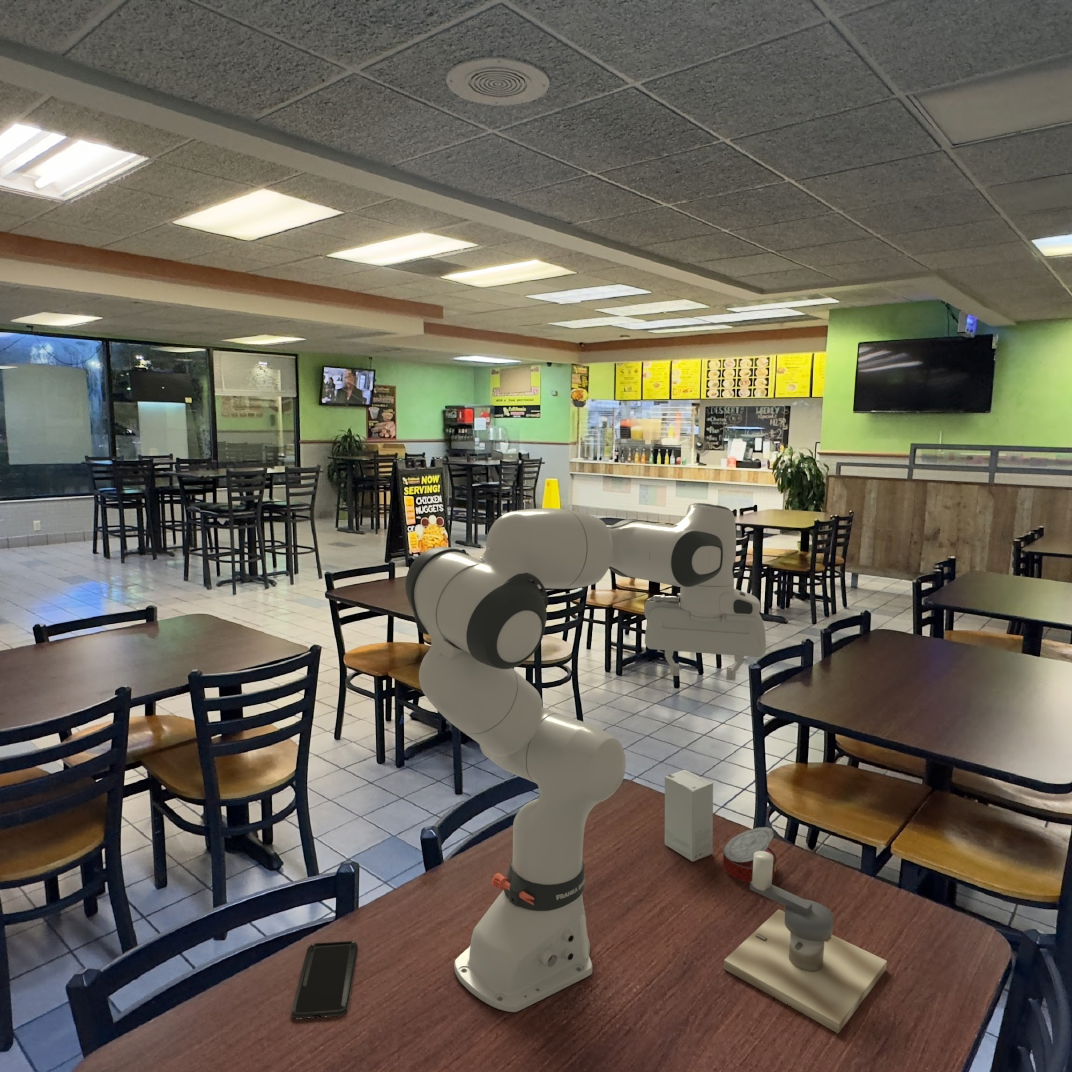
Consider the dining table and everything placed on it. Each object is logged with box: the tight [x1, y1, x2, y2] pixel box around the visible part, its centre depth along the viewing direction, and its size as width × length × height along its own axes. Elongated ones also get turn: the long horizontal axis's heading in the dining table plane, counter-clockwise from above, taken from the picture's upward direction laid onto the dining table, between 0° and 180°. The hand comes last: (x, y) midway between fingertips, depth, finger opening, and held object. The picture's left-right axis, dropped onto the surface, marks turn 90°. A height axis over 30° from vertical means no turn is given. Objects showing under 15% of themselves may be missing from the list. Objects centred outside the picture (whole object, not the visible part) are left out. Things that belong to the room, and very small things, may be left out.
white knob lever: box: [749, 851, 834, 941], centre depth 119 cm, size 7×13×8 cm, turn 46°
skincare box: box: [664, 769, 714, 862], centre depth 151 cm, size 8×6×15 cm
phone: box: [291, 940, 359, 1019], centre depth 115 cm, size 8×1×15 cm
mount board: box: [723, 909, 888, 1034], centre depth 118 cm, size 18×18×7 cm
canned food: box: [722, 826, 778, 883], centre depth 145 cm, size 11×10×10 cm
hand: (702, 677), depth 131 cm, fingers open, 8 cm apart
